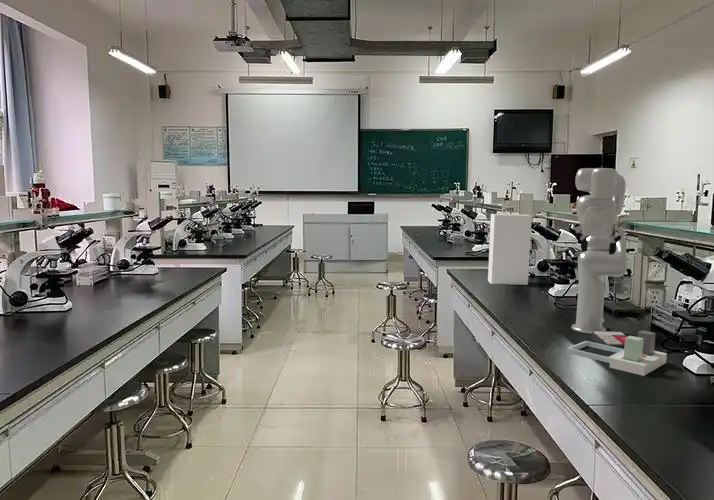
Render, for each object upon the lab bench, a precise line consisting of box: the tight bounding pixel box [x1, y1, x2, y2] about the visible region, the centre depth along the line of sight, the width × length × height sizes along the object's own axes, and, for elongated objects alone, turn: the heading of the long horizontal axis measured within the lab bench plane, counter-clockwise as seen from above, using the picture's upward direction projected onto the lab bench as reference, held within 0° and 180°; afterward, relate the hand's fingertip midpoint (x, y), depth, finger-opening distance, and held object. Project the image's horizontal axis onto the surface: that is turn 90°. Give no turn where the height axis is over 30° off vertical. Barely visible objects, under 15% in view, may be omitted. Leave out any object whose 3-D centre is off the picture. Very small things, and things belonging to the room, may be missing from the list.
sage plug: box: [624, 335, 644, 363], centre depth 171 cm, size 4×4×10 cm
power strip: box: [609, 350, 668, 377], centre depth 174 cm, size 19×10×5 cm, turn 133°
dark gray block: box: [636, 329, 656, 356], centre depth 177 cm, size 4×4×10 cm
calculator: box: [590, 331, 629, 349], centre depth 198 cm, size 11×4×15 cm
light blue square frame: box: [566, 340, 624, 364], centre depth 186 cm, size 14×14×2 cm
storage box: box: [487, 213, 533, 286], centre depth 324 cm, size 21×10×40 cm, turn 88°
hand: (597, 252), depth 196 cm, fingers open, 9 cm apart
